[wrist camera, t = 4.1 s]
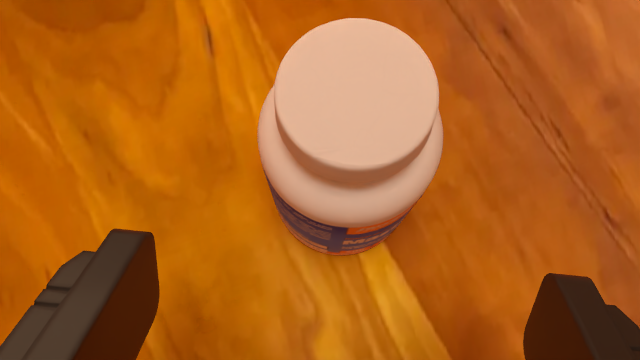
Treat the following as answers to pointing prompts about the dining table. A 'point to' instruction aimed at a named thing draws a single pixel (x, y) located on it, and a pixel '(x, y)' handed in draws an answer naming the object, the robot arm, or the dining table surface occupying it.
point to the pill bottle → (350, 134)
